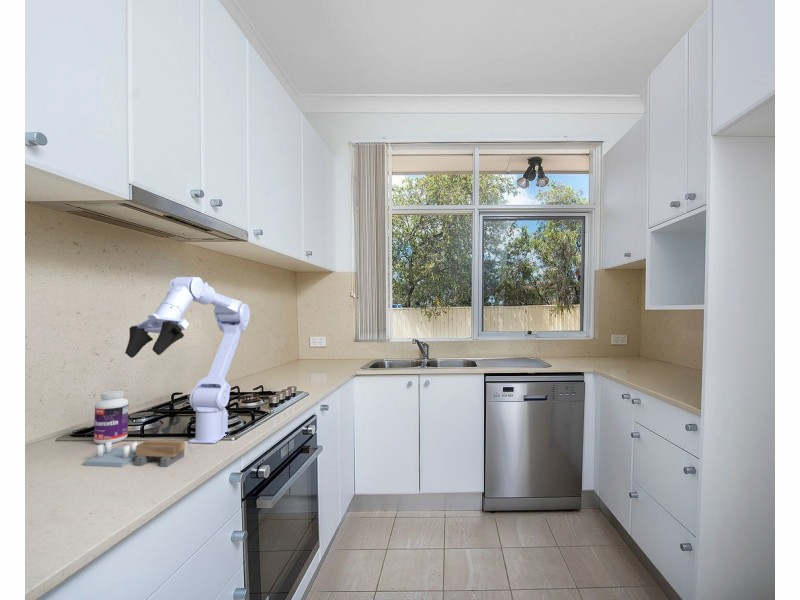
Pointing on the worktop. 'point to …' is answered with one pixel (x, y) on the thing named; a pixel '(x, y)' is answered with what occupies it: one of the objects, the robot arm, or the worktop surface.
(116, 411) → the pill bottle
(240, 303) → the robot arm
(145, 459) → the board rack
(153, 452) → the shelf board
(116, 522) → the worktop surface
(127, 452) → the peg base
